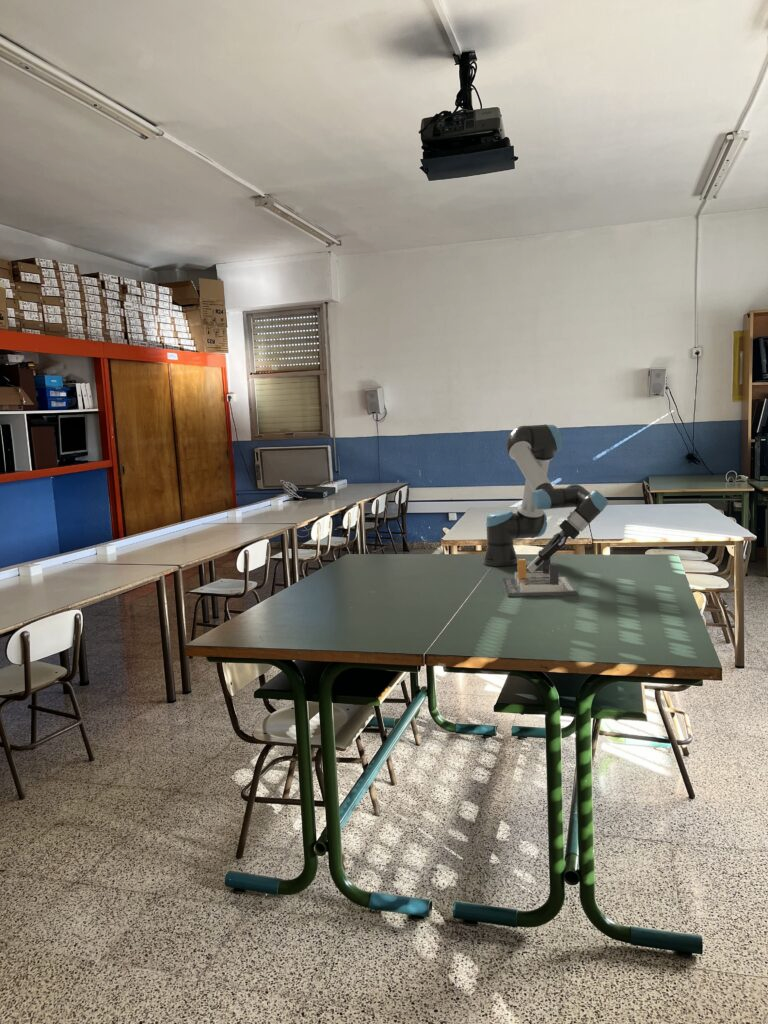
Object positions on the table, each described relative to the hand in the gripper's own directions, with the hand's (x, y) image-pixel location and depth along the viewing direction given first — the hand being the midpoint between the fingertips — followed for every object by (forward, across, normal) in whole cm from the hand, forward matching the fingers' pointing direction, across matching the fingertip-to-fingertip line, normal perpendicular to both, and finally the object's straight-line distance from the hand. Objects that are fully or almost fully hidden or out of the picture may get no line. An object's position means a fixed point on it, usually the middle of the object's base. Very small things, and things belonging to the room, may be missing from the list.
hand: (529, 570), depth 285 cm
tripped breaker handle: (+4, 0, 0) cm, 4 cm away
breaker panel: (+3, 0, +7) cm, 8 cm away
